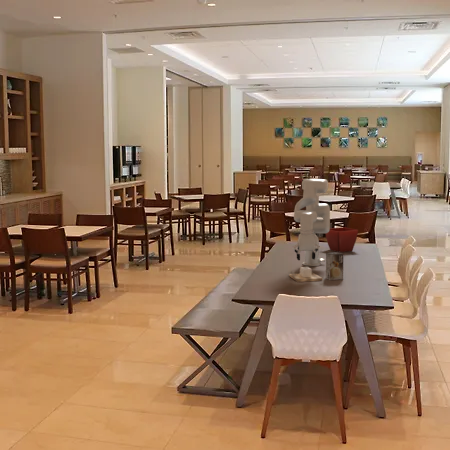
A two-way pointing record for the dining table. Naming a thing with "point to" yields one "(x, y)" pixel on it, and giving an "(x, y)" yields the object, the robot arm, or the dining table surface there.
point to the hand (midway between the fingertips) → (306, 259)
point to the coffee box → (334, 266)
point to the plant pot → (341, 239)
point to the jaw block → (305, 271)
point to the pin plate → (302, 279)
